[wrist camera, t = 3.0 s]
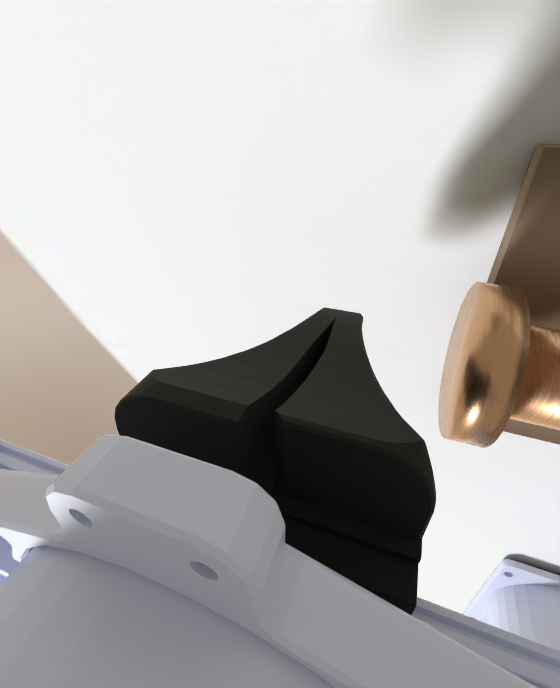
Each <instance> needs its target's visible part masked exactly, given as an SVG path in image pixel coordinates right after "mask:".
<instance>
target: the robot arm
mask: <svg viewBox="0 0 560 688" xmlns="http://www.w3.org/2000/svg"><path fill="white" fill-rule="evenodd" d="M362 322H363V316H362V315H361V314H360V313H354V312H348V311H342V310H336V309H330V308H323V309H321V310H320V311H318V312H317V313H315V314H314V315H312V316H311V317H309V318H308V319H306V320H305V321H303V322H301V323H300V324H298V325H297V326H295V327H294V328H292V329H290V330H288V331H286V332H285V333H283V334H281V335H279V336H277V337H276V338H274V339H272V340H270V341H268V342H265V343H263V344H261V345H259V346H256V347H254V348H251V349H249V350H246V351H243V352H240V353H237V354H234V355H230V356H227V357H224V358H221V359H217V360H212V361H208V362H204V363H199V364H194V365H188V366H181V367H173V368H165V369H156V370H153V371H151V372H150V373H149V374H148V375H147V376H146V377H145V378H144V379H143V380H142V381H141V382H140V383H138V384H137V385H136V386H135V387H134V388H133V389H132V390H131V391H130V392H129V393H128V394H127V395H126V396H125V397H124V398H122V399H121V400H120V402H119V403H118V405H117V406H116V409H115V421H116V425H117V429H118V432H119V435H111V434H109V435H108V434H103V435H102V436H101V437H99V438H98V439H97V440H95V441H94V442H93V443H92V444H91V445H90V446H89V447H88V448H87V449H86V450H85V451H84V452H83V453H82V454H81V455H80V456H79V457H78V458H77V459H76V460H75V461H74V462H73V463H72V464H71V465H67V464H65V463H62V462H59V461H57V460H54V459H52V458H49V457H46V456H44V455H41V454H38V453H36V452H33V451H31V450H28V449H25V448H23V447H19V446H17V445H15V444H12V443H9V442H7V441H4V440H2V439H0V688H560V575H557V574H554V573H550V572H547V571H544V570H541V569H538V568H535V567H532V566H529V565H526V564H523V563H520V562H517V561H514V560H509V559H506V560H503V561H502V562H501V563H500V564H499V566H498V567H497V568H496V570H495V571H494V572H493V574H492V575H491V576H490V578H489V579H488V580H487V582H486V583H485V584H484V586H483V587H482V588H481V590H480V591H479V592H478V594H477V595H476V597H475V598H474V599H473V601H472V602H471V603H470V605H469V606H468V607H467V609H466V610H465V611H464V613H463V614H460V613H458V612H455V611H452V610H450V609H447V608H444V607H442V606H439V605H437V604H434V603H431V602H429V601H426V600H423V599H421V598H418V597H417V580H418V563H419V562H420V560H421V553H422V537H423V535H424V533H425V530H426V528H427V526H428V524H429V521H430V519H431V517H432V515H433V512H434V508H435V503H436V490H435V482H434V476H433V470H432V466H431V462H430V458H429V454H428V451H427V447H426V444H425V441H424V440H423V439H422V438H421V437H420V436H419V435H418V433H417V432H416V431H415V430H414V429H413V428H412V427H411V426H410V425H409V424H408V423H407V422H406V421H405V420H404V419H403V418H402V417H401V416H400V414H399V413H398V412H397V411H396V409H395V408H394V406H393V405H392V404H391V402H390V401H389V399H388V398H387V396H386V395H385V393H384V392H383V390H382V388H381V386H380V384H379V383H378V381H377V379H376V377H375V374H374V372H373V370H372V368H371V365H370V362H369V359H368V356H367V353H366V350H365V346H364V341H363V336H362Z"/></svg>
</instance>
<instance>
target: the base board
mask: <svg viewBox="0 0 560 688" xmlns="http://www.w3.org/2000/svg"><path fill="white" fill-rule="evenodd" d="M487 283H490V284H497V285H505V286H512V287H518V288H521V289H522V290H523V291H524V292H525V294H526V296H527V298H528V302H529V307H530V315H531V325H532V326H539V327H545V328H551V329H557V330H560V145H554V144H537V145H536V148H535V151H534V153H533V156H532V159H531V162H530V165H529V167H528V170H527V173H526V176H525V178H524V181H523V184H522V187H521V189H520V192H519V195H518V198H517V201H516V203H515V206H514V209H513V212H512V214H511V217H510V220H509V223H508V226H507V228H506V231H505V234H504V237H503V239H502V242H501V245H500V248H499V251H498V253H497V256H496V259H495V262H494V264H493V267H492V270H491V273H490V276H489V278H488V281H487ZM503 431H505V432H509V433H513V434H518V435H522V436H526V437H530V438H535V439H539V440H543V441H547V442H551V443H556V444H560V430H557V429H553V428H548V427H544V426H540V425H535V424H531V423H526V422H522V421H518V420H513V419H509V421H508V423H507V425H506V426H505V428H504V430H503Z"/></svg>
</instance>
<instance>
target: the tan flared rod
mask: <svg viewBox="0 0 560 688" xmlns="http://www.w3.org/2000/svg"><path fill="white" fill-rule="evenodd" d="M509 419H513V420H518V421H522V422H526V423H531V424H535V425H540V426H544V427H548V428H553V429H557V430H560V330H557V329H551V328H545V327H539V326H532V325H531V315H530V307H529V302H528V298H527V296H526V294H525V292H524V291H523V290H522V289H521V288H518V287H512V286H505V285H497V284H490V283H482V282H477V283H475V284H474V285H473V286H472V287H471V289H470V290H469V292H468V293H467V295H466V297H465V299H464V301H463V303H462V306H461V308H460V311H459V313H458V316H457V319H456V322H455V325H454V328H453V331H452V335H451V338H450V342H449V346H448V350H447V354H446V359H445V364H444V369H443V375H442V381H441V388H440V397H439V428H440V432H441V435H442V436H443V437H444V438H446V439H450V440H454V441H458V442H462V443H466V444H470V445H474V446H478V447H482V448H486V447H488V446H490V445H491V444H493V443H494V442H495V441H496V440H497V439H498V437H499V436H500V434H501V433H502V432H503V430H504V428H505V426H506V425H507V423H508V421H509Z"/></svg>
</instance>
